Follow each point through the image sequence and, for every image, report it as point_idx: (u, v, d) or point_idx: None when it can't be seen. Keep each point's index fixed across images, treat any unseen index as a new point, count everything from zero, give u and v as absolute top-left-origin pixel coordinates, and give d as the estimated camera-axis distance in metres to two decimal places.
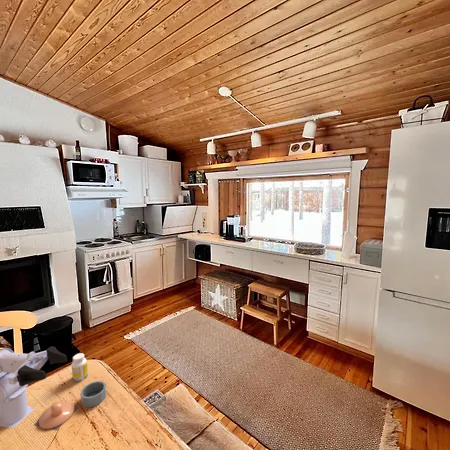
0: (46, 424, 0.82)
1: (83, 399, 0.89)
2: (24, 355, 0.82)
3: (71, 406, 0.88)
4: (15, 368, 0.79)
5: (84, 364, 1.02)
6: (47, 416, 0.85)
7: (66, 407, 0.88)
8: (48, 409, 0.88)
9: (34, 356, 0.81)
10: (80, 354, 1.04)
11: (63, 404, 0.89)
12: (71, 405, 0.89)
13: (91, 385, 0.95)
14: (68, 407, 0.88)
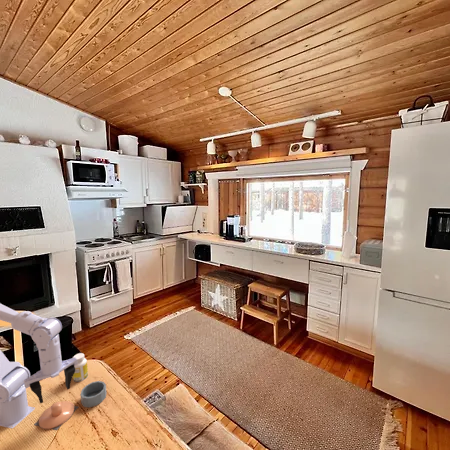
0: (46, 424, 0.82)
1: (83, 399, 0.89)
2: (54, 365, 0.82)
3: (71, 406, 0.88)
4: (41, 365, 0.81)
5: (84, 364, 1.02)
6: (47, 416, 0.85)
7: (66, 407, 0.88)
8: (48, 409, 0.88)
9: None
10: (80, 354, 1.04)
11: (63, 404, 0.89)
12: (71, 405, 0.89)
13: (91, 385, 0.95)
14: (68, 407, 0.88)
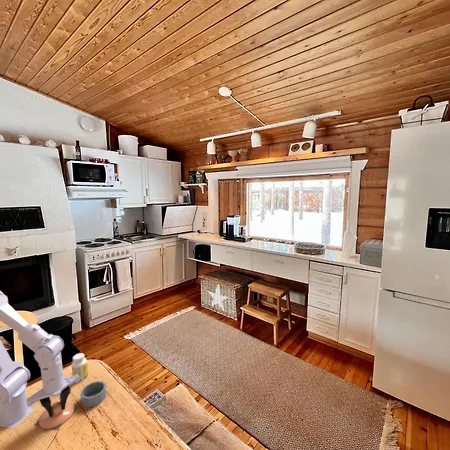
0: (46, 424, 0.82)
1: (83, 399, 0.89)
2: (56, 383, 0.82)
3: (71, 406, 0.88)
4: (43, 384, 0.82)
5: (84, 364, 1.02)
6: (47, 416, 0.85)
7: (66, 407, 0.88)
8: None
9: None
10: (80, 354, 1.04)
11: None
12: (71, 405, 0.89)
13: (91, 385, 0.95)
14: (68, 407, 0.88)
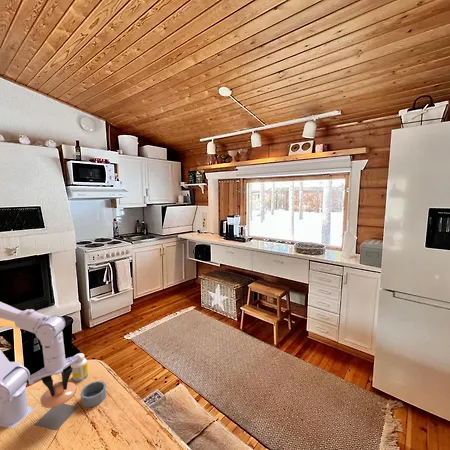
0: (48, 403, 0.81)
1: (83, 399, 0.89)
2: (57, 362, 0.82)
3: (73, 387, 0.88)
4: (44, 362, 0.82)
5: (84, 364, 1.02)
6: (49, 396, 0.84)
7: (68, 388, 0.88)
8: None
9: None
10: (80, 354, 1.04)
11: None
12: (73, 385, 0.89)
13: (91, 385, 0.95)
14: (70, 387, 0.88)
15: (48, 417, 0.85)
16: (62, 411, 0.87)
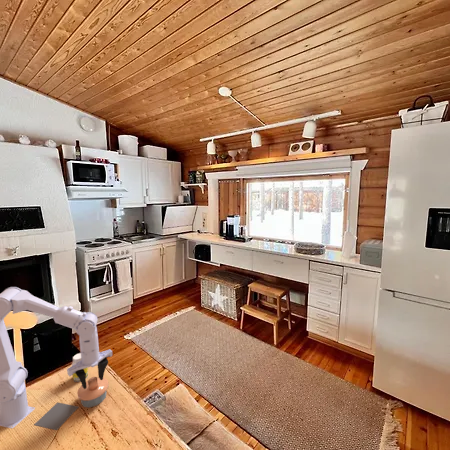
0: (85, 396, 0.88)
1: None
2: (93, 355, 0.89)
3: (105, 381, 0.95)
4: (81, 355, 0.88)
5: None
6: (84, 390, 0.91)
7: (101, 382, 0.95)
8: None
9: None
10: (80, 354, 1.04)
11: (97, 380, 0.96)
12: (105, 380, 0.96)
13: None
14: (102, 382, 0.95)
15: (48, 417, 0.85)
16: (62, 411, 0.87)
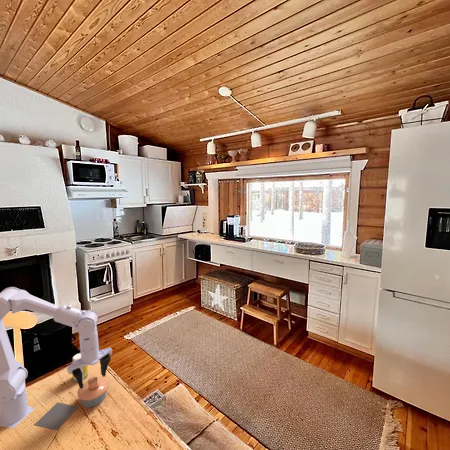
0: (85, 396, 0.88)
1: None
2: (93, 353, 0.89)
3: (105, 381, 0.95)
4: (81, 353, 0.88)
5: None
6: (84, 390, 0.91)
7: (101, 382, 0.95)
8: (84, 384, 0.94)
9: None
10: (80, 354, 1.04)
11: (97, 380, 0.96)
12: (105, 380, 0.96)
13: None
14: (102, 382, 0.95)
15: (48, 417, 0.85)
16: (62, 411, 0.87)
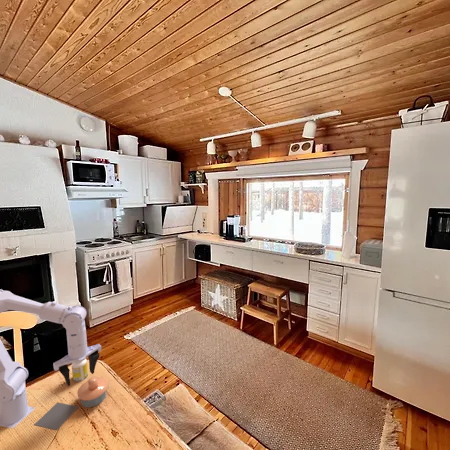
0: (85, 396, 0.88)
1: None
2: (81, 350, 0.86)
3: (105, 381, 0.95)
4: (69, 350, 0.86)
5: (84, 364, 1.02)
6: (84, 390, 0.91)
7: (101, 382, 0.95)
8: (84, 384, 0.94)
9: None
10: None
11: (97, 380, 0.96)
12: (105, 380, 0.96)
13: None
14: (102, 382, 0.95)
15: (48, 417, 0.85)
16: (62, 411, 0.87)
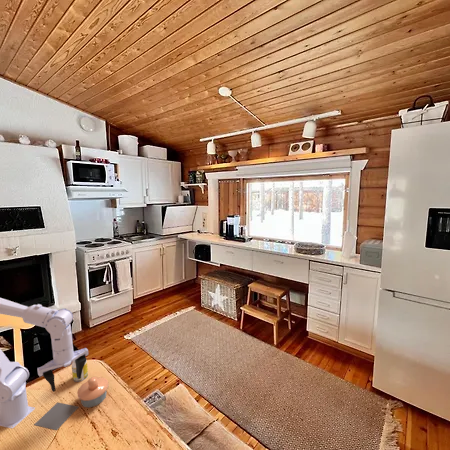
0: (85, 396, 0.88)
1: None
2: (66, 354, 0.84)
3: (105, 381, 0.95)
4: (53, 354, 0.83)
5: None
6: (84, 390, 0.91)
7: (101, 382, 0.95)
8: (84, 384, 0.94)
9: None
10: None
11: (97, 380, 0.96)
12: (105, 380, 0.96)
13: None
14: (102, 382, 0.95)
15: (48, 417, 0.85)
16: (62, 411, 0.87)
